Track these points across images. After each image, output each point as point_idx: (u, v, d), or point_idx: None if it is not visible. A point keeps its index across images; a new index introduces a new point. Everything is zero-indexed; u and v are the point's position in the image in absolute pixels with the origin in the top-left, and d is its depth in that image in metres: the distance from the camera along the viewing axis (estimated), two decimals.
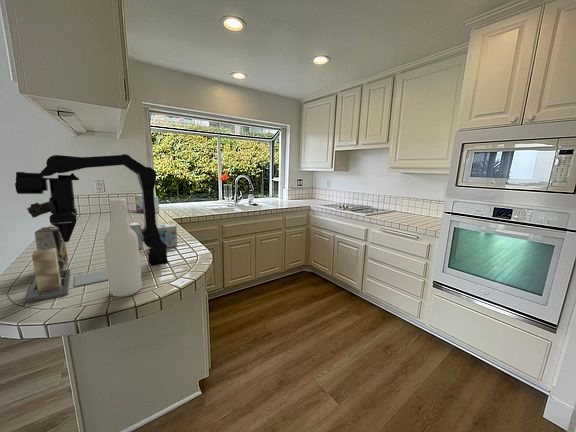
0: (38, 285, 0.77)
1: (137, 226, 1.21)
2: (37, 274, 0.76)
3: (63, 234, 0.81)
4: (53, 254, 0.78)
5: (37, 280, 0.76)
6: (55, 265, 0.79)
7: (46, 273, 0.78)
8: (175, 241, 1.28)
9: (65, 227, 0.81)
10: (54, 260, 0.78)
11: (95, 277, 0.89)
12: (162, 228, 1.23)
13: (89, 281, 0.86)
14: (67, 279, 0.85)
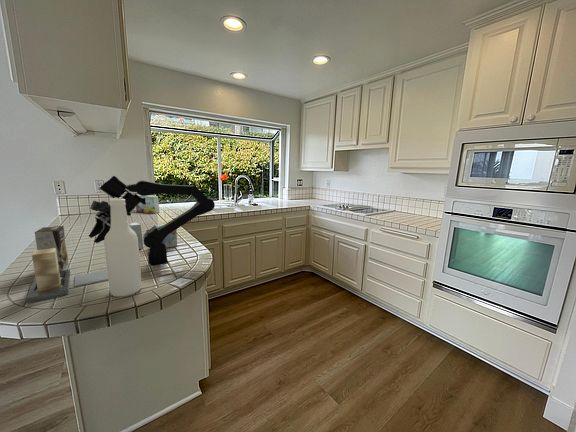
0: (38, 285, 0.77)
1: (137, 226, 1.21)
2: (37, 274, 0.76)
3: (101, 235, 0.87)
4: (53, 254, 0.78)
5: (37, 280, 0.76)
6: (55, 265, 0.79)
7: (46, 273, 0.78)
8: (175, 241, 1.28)
9: (107, 231, 0.88)
10: (54, 260, 0.78)
11: (95, 277, 0.89)
12: None
13: (89, 281, 0.86)
14: (67, 279, 0.85)
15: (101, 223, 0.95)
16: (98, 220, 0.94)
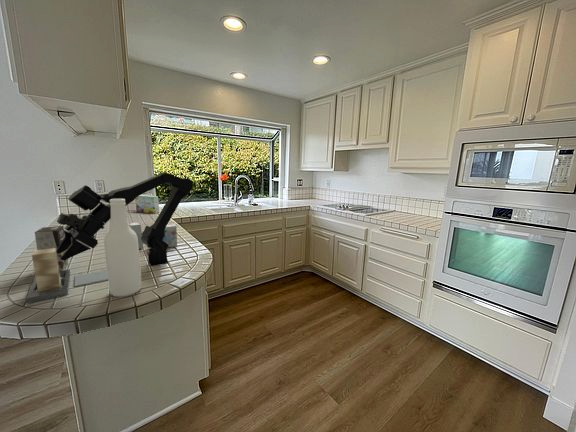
0: (38, 285, 0.77)
1: (137, 226, 1.21)
2: (37, 274, 0.76)
3: (68, 251, 0.78)
4: (53, 254, 0.78)
5: (37, 280, 0.76)
6: (55, 265, 0.79)
7: (46, 273, 0.78)
8: (175, 241, 1.28)
9: (76, 247, 0.80)
10: (54, 260, 0.78)
11: (95, 277, 0.89)
12: None
13: (89, 281, 0.86)
14: (67, 279, 0.85)
15: (70, 237, 0.87)
16: (67, 234, 0.86)
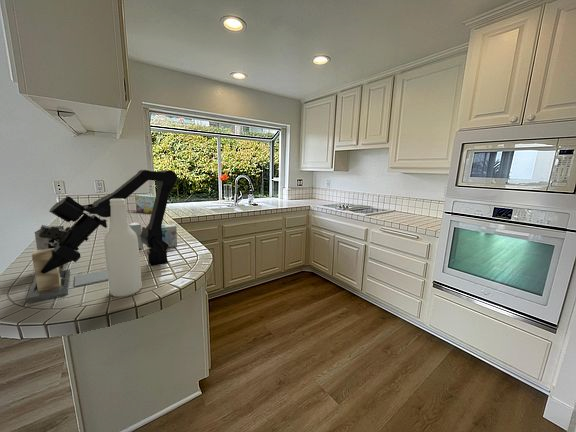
0: (38, 285, 0.77)
1: (137, 226, 1.21)
2: (37, 274, 0.76)
3: (48, 264, 0.77)
4: None
5: (37, 280, 0.76)
6: None
7: (46, 273, 0.77)
8: (175, 241, 1.28)
9: (57, 260, 0.78)
10: None
11: (95, 277, 0.89)
12: (162, 228, 1.23)
13: (89, 281, 0.86)
14: (67, 279, 0.85)
15: None
16: (50, 247, 0.82)
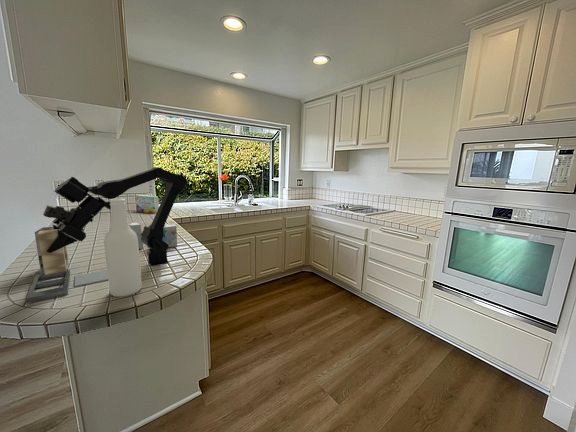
0: (44, 265, 0.77)
1: (137, 226, 1.21)
2: (43, 254, 0.77)
3: (54, 244, 0.77)
4: None
5: (43, 260, 0.77)
6: None
7: (52, 253, 0.78)
8: (175, 241, 1.28)
9: (63, 239, 0.78)
10: None
11: (95, 277, 0.89)
12: None
13: (89, 281, 0.86)
14: (67, 279, 0.85)
15: None
16: (56, 228, 0.82)
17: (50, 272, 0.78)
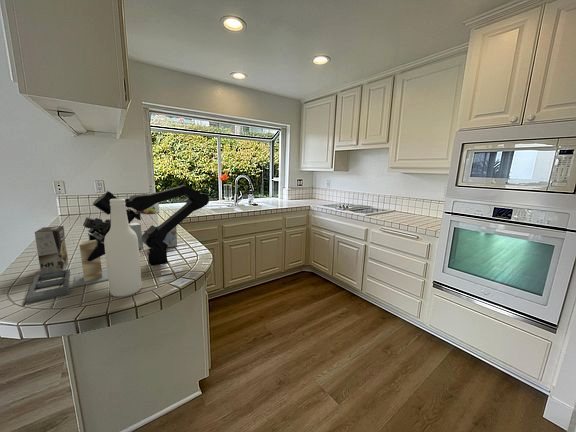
0: (84, 272, 0.86)
1: (137, 226, 1.21)
2: (84, 262, 0.85)
3: (94, 253, 0.85)
4: None
5: (84, 268, 0.85)
6: None
7: (91, 262, 0.87)
8: (175, 241, 1.28)
9: (101, 249, 0.86)
10: None
11: None
12: None
13: (89, 281, 0.86)
14: (67, 279, 0.85)
15: None
16: (91, 237, 0.92)
17: (89, 279, 0.87)
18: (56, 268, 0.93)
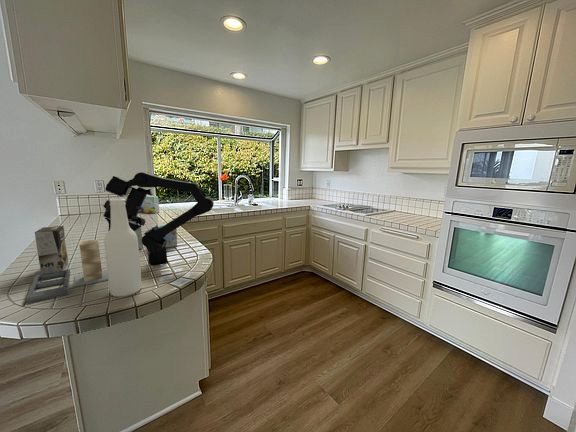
0: (84, 272, 0.86)
1: None
2: (84, 262, 0.85)
3: None
4: (97, 244, 0.87)
5: (84, 268, 0.85)
6: (98, 254, 0.88)
7: (91, 262, 0.87)
8: (175, 241, 1.28)
9: None
10: (98, 250, 0.87)
11: None
12: None
13: (89, 281, 0.86)
14: (67, 279, 0.85)
15: (129, 224, 1.02)
16: None
17: (89, 279, 0.87)
18: (56, 268, 0.93)
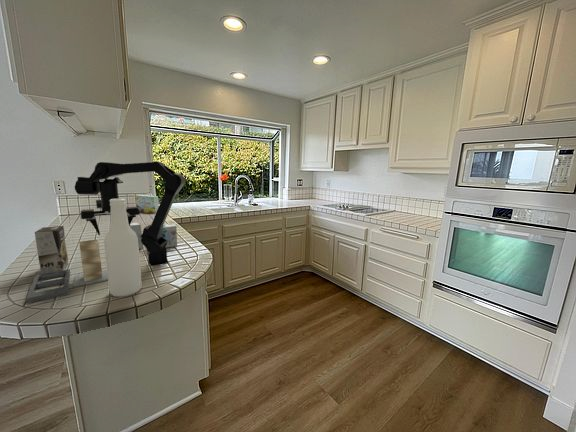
0: (84, 272, 0.86)
1: (137, 226, 1.21)
2: (84, 262, 0.85)
3: None
4: (97, 244, 0.87)
5: (84, 268, 0.85)
6: (98, 254, 0.88)
7: (91, 262, 0.87)
8: (175, 241, 1.28)
9: None
10: (98, 250, 0.87)
11: None
12: None
13: (89, 281, 0.86)
14: (67, 279, 0.85)
15: None
16: None
17: (89, 279, 0.87)
18: (56, 268, 0.93)
